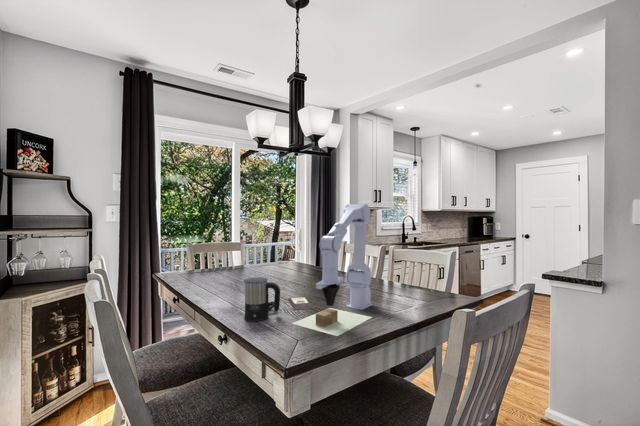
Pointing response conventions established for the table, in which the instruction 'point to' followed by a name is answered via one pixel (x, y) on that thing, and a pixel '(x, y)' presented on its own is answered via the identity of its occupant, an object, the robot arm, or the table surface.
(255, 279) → the milk frother
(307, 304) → the chocolate bar
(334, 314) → the walnut block
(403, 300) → the table surface
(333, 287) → the robot arm
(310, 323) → the sage mat
